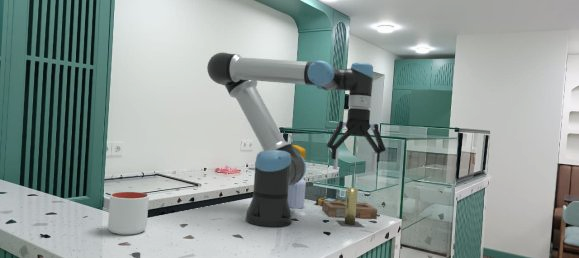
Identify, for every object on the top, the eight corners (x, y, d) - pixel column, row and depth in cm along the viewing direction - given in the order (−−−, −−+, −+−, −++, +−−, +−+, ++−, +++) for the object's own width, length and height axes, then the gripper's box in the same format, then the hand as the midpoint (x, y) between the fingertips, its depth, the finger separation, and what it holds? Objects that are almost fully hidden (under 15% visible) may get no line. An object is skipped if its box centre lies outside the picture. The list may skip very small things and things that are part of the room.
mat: (341, 227, 137) (341, 226, 137) (335, 221, 145) (335, 220, 145) (364, 228, 138) (364, 227, 138) (357, 222, 146) (357, 221, 146)
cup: (108, 237, 107) (111, 199, 107) (106, 227, 116) (109, 191, 116) (148, 235, 112) (151, 198, 112) (143, 225, 121) (146, 191, 121)
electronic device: (349, 213, 163) (349, 205, 163) (315, 206, 172) (315, 198, 172) (358, 210, 170) (358, 202, 170) (325, 203, 179) (325, 195, 179)
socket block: (376, 220, 152) (377, 209, 152) (329, 218, 150) (330, 207, 149) (366, 212, 164) (366, 202, 164) (322, 210, 162) (322, 200, 162)
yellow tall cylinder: (345, 224, 140) (348, 189, 139) (343, 222, 143) (345, 187, 143) (356, 225, 140) (359, 190, 140) (353, 222, 144) (355, 188, 143)
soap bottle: (289, 203, 171) (294, 144, 171) (308, 207, 166) (313, 146, 166) (276, 205, 164) (281, 144, 164) (295, 210, 159) (300, 146, 158)
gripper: (326, 105, 135) (321, 169, 136) (398, 111, 139) (393, 173, 139) (321, 106, 143) (316, 166, 143) (389, 111, 146) (385, 170, 147)
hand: (354, 170), depth 141 cm, fingers open, 13 cm apart
